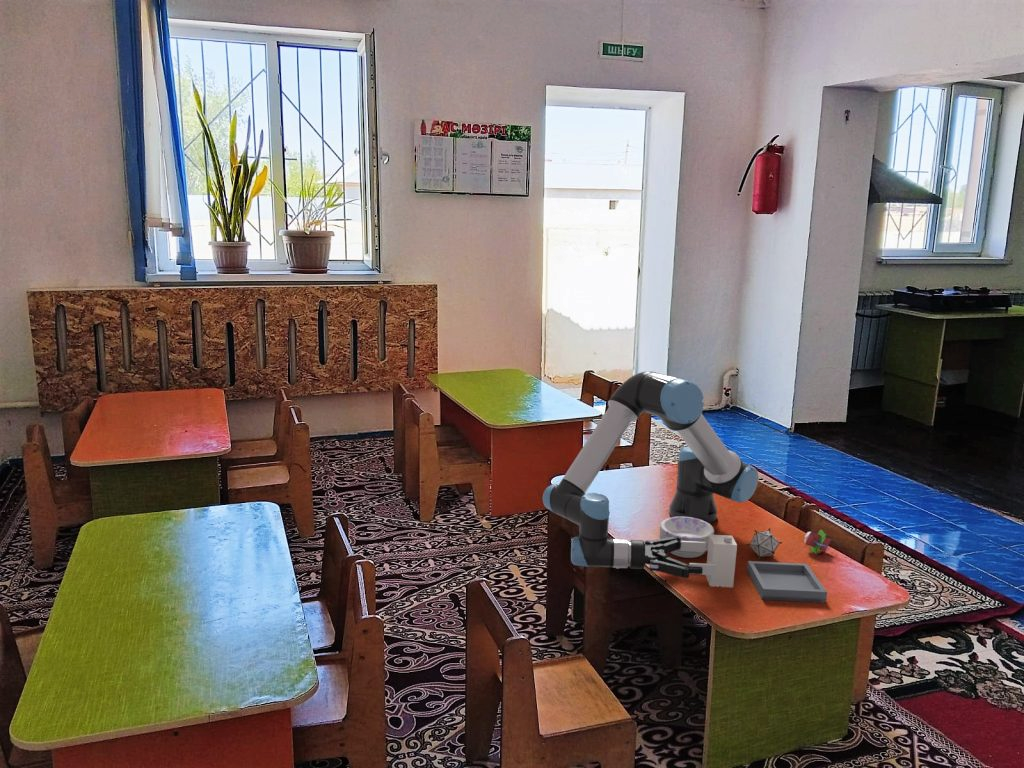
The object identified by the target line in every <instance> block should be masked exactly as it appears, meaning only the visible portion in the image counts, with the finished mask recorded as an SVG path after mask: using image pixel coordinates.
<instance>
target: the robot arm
mask: <svg viewBox="0 0 1024 768" xmlns="http://www.w3.org/2000/svg"><path fill="white" fill-rule="evenodd" d="M703 400H704V395H703V391H702V390H701V388H700V386H698V385H697V384H696V383H695V382H694V381H691V380H689V379H685V378H684V377H683V378H681V377H674V376H670V375H667V374H662V373H659V372H655V371H650V370H649V371H641V372H638V373H635V374H634V375H632V376H630V377H629V378H628V379H626V380H625V381H624V382H623V383H622V384H621V385H619V387H617V389H616V390H615V391H614V393H613V394H612V395H611V396H610V398H609V400H608V401H607V405H608V408H607V410H606V411H605V413H604V415H603V416H602V417H601V419H600V420H599V422H598V423H597V425H596V427H595V428H594V429H593V431H592V433H591V434H590V435H589V438H588V439H587V441H586V442H585V443H584V445H583V447H582V448H581V449H580V451H579V453H578V454H577V456H576V457H575V459H574V460H573V462H572V463H571V465H570V466H569V468H568V470H567V471H566V473H565V474H564V476H563V477H562V479H561V481H560V482H559V483H558V484H557V483H554V484H553V483H552V484H550V485H549V486H547V487H546V488H545V490H544V491H543V493H542V494H543V495H542V503H543V506H544V507H545V509H548V510H549V511H551V512H552V513H553V514H554V515H558V516H560V517H562V518H564V519H566V520H568V521H569V522H572V523H574V524H576V525H578V526H579V533H578V536H574V537H572V538H571V546H570V547H571V548H570V561H571V564H573V566H580V567H581V566H582V567H587V568H589V567H590V568H591V567H592V568H615V569H617V570H618V569H628V568H630V569H632V570H633V569H634V570H635V569H636V570H642V569H644V568H645V565H649V570H650V571H652V572H653V571H654V572H659V573H664V574H667V575H672V576H676V577H679V578H682V579H688V578H690V575H703V576H706V575H715V566H716V565H715V564H707V563H698V562H689V563H685V562H682V561H679V560H678V559H674V558H671V557H669V556H668V554H671V553H670V552H673V551H676V550H678V549H680V548H681V549H680V550H681V551H690V552H704V553H706V551H705V544H706V543H705V542H697V541H681V538H680V537H669V538H663V539H660V538H658V539H645V540H642V539H630V540H629V539H625V538H624V539H623V538H609V537H608V533H609V523H610V522H609V520H610V519H609V518H610V500H609V498H608V497H607V496H606V495H604V494H602V493H597V492H588V493H587V491H588V489H589V488H590V487H591V485H592V483H593V482H594V480H595V479H596V477H597V476H598V474H599V473H600V471H601V470H602V468H603V466H604V465H605V463H606V462H607V460H608V459H609V457H610V455H611V453H612V452H613V451H614V449H616V448H615V447H616V446H617V444H618V443H619V441H620V440H621V438H622V436H623V435H624V433H625V432H626V431H627V429H628V427H629V426H630V425H631V423H632V422H635V421H637V420H638V419H639V417H640V416H641V414H643V413H647V414H649V415H653V416H656V417H658V418H659V419H660V420H661V421H662V423H663V424H664V426H665V427H666V428H667V429H669V430H670V431H673V432H677V434H678V435H679V436H680V438H681V439H682V440H683V441H684V442H685V444H686V445H687V446H684V447H683V448H681V449H680V450H679V455H678V459H677V475H676V477H677V479H676V490H675V493H674V495H673V497H672V500H671V502H670V505H669V510H668V511H669V512H668V513H669V515H670V517H692V518H697V519H700V520H703V521H705V522H707V523H709V524H711V523H714V522H715V521H716V520H717V517H718V511H717V506H716V500H715V497H714V494H715V495H718V496H720V497H723V498H725V499H728V500H731V501H732V502H737V503H741V504H742V503H744V502H747V501H748V500H750V499H751V498H752V496H753V495H754V493H755V492H756V489H757V486H758V483H759V471H758V470H757V469H756V467H754V466H753V465H749V464H746V463H744V462H743V460H742V459H741V458H740V456H739V455H738V454H737V453H736V452H735V451H733V450H729V449H728V448H727V447H726V446H725V444H724V443H723V441H722V439H721V438H720V437H719V436H718V435H717V433H716V431H715V430H714V428H713V427H712V426H711V424H710V423H709V422H708V420H707V419H706V418H705V416H704V415H703V410H704V406H705V405H704V404H705V402H704V401H703Z"/></svg>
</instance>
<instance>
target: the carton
mask: <svg viewBox="0 0 1024 768" xmlns="http://www.w3.org/2000/svg"><path fill="white" fill-rule="evenodd" d="M737 549H738V544H737V542H736V540H735V539H734V537H733V535H729V534H728V535H727V534H726V535H725V534H724V535H723V534H714V535H709V544H708V550H707V557H706V564H715V565H716V566H715V575H705V578H706V577H707V578H706V579H707V583H708V582H709V583H708V585H709V587H715V586H716V587H715V588H717V587H718V588H719V586H721V587H720V588H734V583H735V582H734V581H735V580H734V579H735V571H736V560H737V551H738V550H737Z"/></svg>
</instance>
